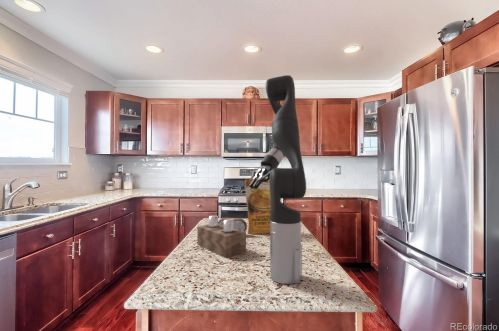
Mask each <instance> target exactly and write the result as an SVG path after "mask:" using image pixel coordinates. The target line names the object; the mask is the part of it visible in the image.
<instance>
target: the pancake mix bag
mask: <svg viewBox="0 0 499 331" xmlns="http://www.w3.org/2000/svg"><path fill="white" fill-rule="evenodd" d="M256 180H257V178H256ZM252 181H253V180H252V179H251V178H246V179H244V191H245V200H246V208H247V219H248V227H247V234H250V235H261V234H262V235H264V234H270V209H271V206H270V184H269V180H268V181H267V182H263V183H261V184H260V185H259V187H258V188H257V189H255V188H253V189H251V188H250V187H249V185H250V183H251V182H252Z"/></svg>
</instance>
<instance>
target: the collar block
mask: <svg viewBox="0 0 499 331" xmlns="http://www.w3.org/2000/svg"><path fill="white" fill-rule="evenodd" d="M196 233H197V239H196V240H197V242H196V243H197V246H199V247H201V248H203V249H206V250H208V251H209V252H212V253H214V254H216V255H218V256H220V257H222V258H225V259H226V258H230V257H233V256H236V255H240V254H243V253H247V231H242V230H238V229H235V228H234V232H232V233H224V225H221V224H218V227H217V228H209V224H205V225H204V224H203V225H198V226H197V231H196Z"/></svg>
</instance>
